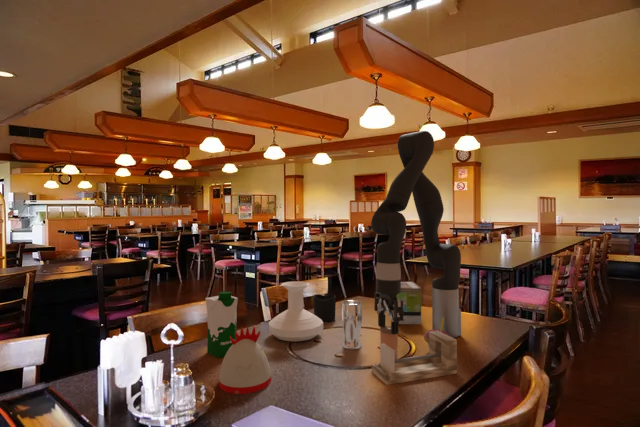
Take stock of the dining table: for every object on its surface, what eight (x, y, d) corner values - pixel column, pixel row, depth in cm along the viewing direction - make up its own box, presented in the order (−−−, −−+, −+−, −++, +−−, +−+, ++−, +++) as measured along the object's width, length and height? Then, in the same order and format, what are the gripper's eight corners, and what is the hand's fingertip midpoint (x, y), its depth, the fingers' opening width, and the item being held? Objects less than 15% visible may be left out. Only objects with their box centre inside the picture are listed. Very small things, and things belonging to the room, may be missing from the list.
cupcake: (451, 348, 134) (451, 312, 134) (451, 357, 126) (450, 319, 126) (425, 346, 137) (424, 310, 137) (422, 354, 129) (422, 317, 129)
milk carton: (217, 359, 126) (216, 295, 126) (202, 352, 133) (202, 291, 132) (241, 352, 132) (240, 291, 132) (226, 346, 139) (225, 287, 139)
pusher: (437, 360, 121) (437, 336, 121) (449, 367, 115) (449, 342, 115) (380, 368, 115) (380, 343, 115) (390, 376, 109) (390, 350, 109)
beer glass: (361, 350, 133) (360, 305, 133) (340, 349, 135) (339, 304, 134) (363, 343, 140) (363, 300, 140) (343, 342, 141) (342, 299, 141)
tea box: (422, 324, 162) (422, 287, 162) (396, 324, 162) (396, 287, 162) (414, 314, 177) (413, 280, 177) (390, 314, 177) (390, 281, 177)
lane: (438, 362, 123) (437, 330, 123) (456, 373, 114) (456, 339, 114) (371, 371, 116) (371, 338, 116) (386, 384, 107) (386, 349, 107)
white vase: (290, 350, 135) (290, 291, 134) (257, 336, 150) (257, 283, 149) (334, 337, 148) (334, 284, 147) (300, 325, 163) (299, 277, 162)
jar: (392, 355, 128) (392, 324, 128) (401, 362, 123) (401, 329, 123) (377, 358, 127) (377, 326, 126) (385, 364, 121) (385, 331, 121)
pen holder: (325, 315, 177) (325, 292, 177) (340, 320, 170) (340, 296, 170) (308, 319, 170) (308, 296, 170) (324, 324, 163) (324, 299, 163)
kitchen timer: (275, 389, 105) (274, 332, 105) (220, 397, 101) (219, 337, 101) (266, 369, 119) (266, 318, 118) (218, 375, 115) (217, 322, 115)
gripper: (411, 280, 119) (411, 335, 119) (388, 273, 133) (388, 323, 133) (388, 281, 117) (388, 338, 117) (367, 274, 130) (367, 325, 130)
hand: (388, 330), depth 125 cm, fingers open, 8 cm apart
